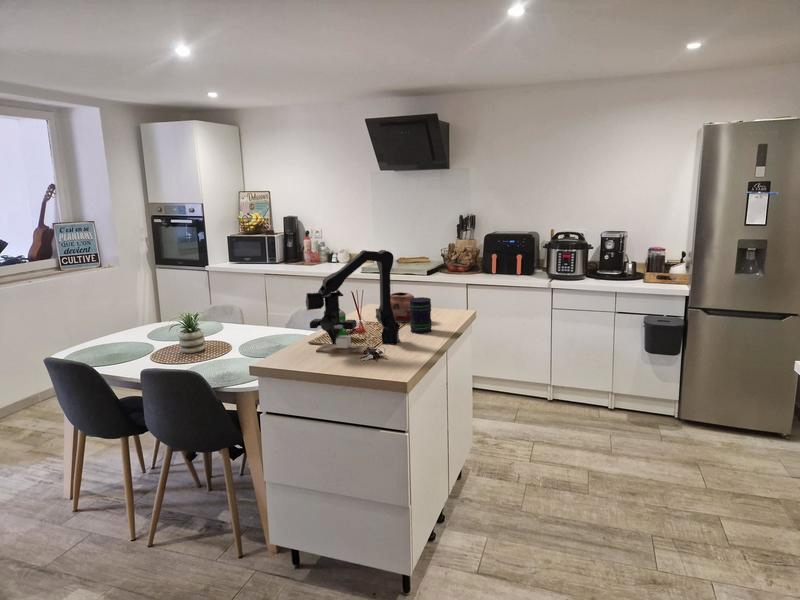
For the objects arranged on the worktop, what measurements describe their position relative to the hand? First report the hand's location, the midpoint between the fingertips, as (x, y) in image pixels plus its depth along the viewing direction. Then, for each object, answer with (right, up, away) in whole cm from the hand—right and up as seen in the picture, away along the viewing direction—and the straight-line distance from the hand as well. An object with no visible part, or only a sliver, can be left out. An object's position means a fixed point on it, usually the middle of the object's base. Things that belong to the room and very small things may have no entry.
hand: (334, 344), depth 230 cm
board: (+4, -3, 0) cm, 4 cm away
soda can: (-1, +1, +20) cm, 20 cm away
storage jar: (+37, +4, +26) cm, 45 cm away
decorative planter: (+27, +8, +47) cm, 55 cm away
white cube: (+4, -1, -1) cm, 4 cm away
